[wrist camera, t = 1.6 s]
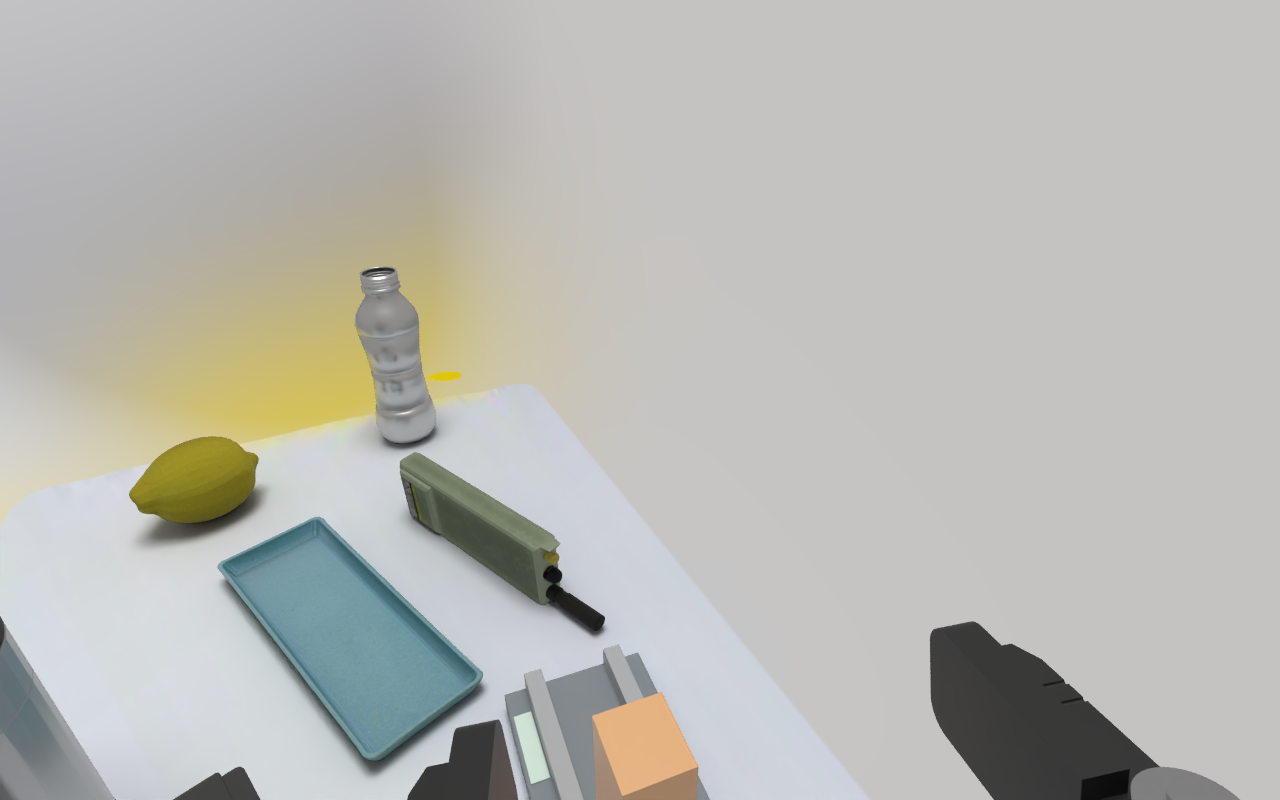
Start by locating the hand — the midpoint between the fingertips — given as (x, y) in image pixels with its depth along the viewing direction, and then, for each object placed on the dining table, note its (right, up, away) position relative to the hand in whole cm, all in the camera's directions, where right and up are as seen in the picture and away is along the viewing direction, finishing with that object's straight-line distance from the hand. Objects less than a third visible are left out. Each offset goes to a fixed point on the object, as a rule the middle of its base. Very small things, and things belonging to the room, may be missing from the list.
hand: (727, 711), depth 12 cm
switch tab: (-1, -20, +26) cm, 33 cm away
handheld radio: (-14, -10, +49) cm, 52 cm away
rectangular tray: (-25, -13, +43) cm, 52 cm away
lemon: (-44, -6, +56) cm, 71 cm away
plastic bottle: (-29, +1, +68) cm, 74 cm away
